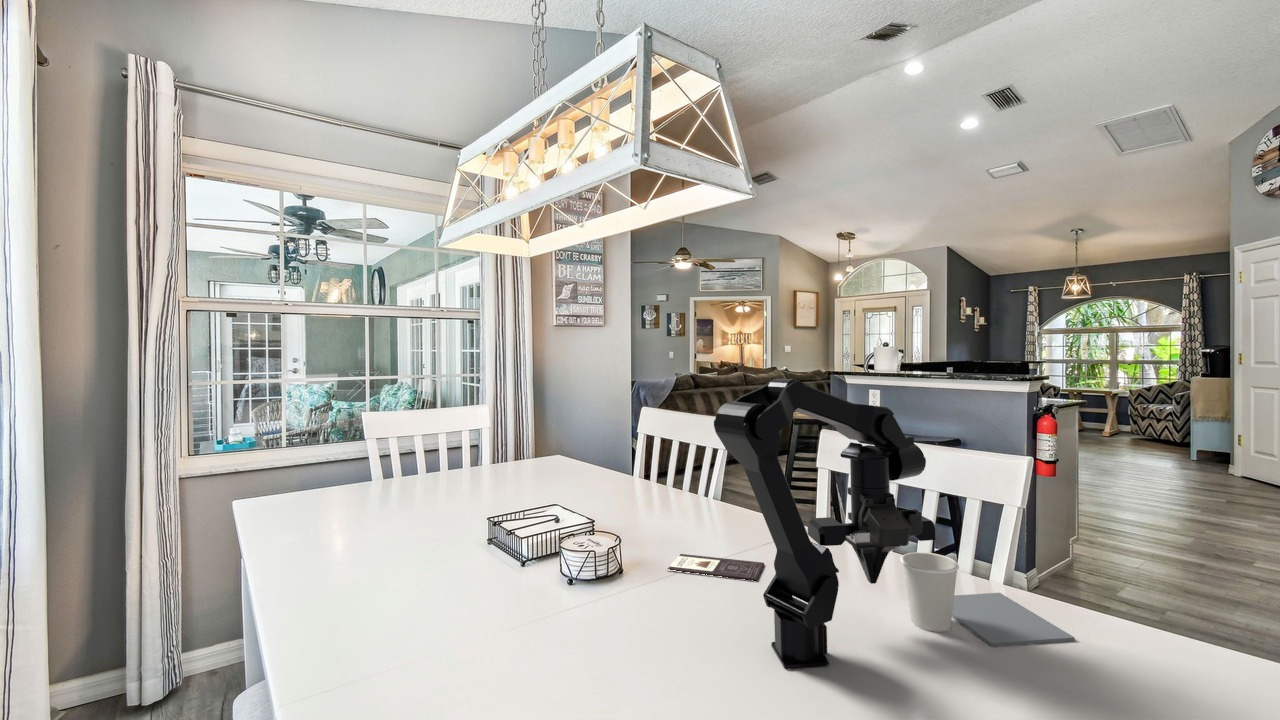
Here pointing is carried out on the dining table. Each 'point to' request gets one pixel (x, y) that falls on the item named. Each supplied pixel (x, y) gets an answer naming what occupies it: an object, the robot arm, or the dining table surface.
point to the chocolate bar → (717, 566)
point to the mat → (1004, 621)
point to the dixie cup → (930, 589)
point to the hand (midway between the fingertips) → (872, 582)
